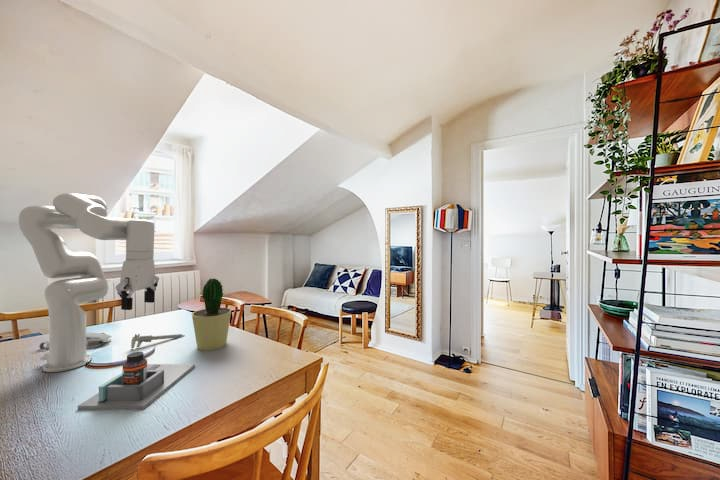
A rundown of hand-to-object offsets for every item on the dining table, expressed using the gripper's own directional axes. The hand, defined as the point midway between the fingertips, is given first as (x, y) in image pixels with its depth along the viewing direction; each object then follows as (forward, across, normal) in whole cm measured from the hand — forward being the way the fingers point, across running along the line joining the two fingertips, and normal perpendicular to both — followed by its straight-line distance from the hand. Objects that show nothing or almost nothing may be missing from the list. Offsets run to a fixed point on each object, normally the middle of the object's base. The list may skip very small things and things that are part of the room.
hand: (138, 305), depth 97 cm
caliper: (+25, -30, -14) cm, 42 cm away
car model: (+26, -26, -46) cm, 59 cm away
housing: (+24, +6, +8) cm, 26 cm away
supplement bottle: (+23, +11, +8) cm, 27 cm away
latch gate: (+22, +11, +4) cm, 25 cm away
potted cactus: (+24, -27, +11) cm, 38 cm away
